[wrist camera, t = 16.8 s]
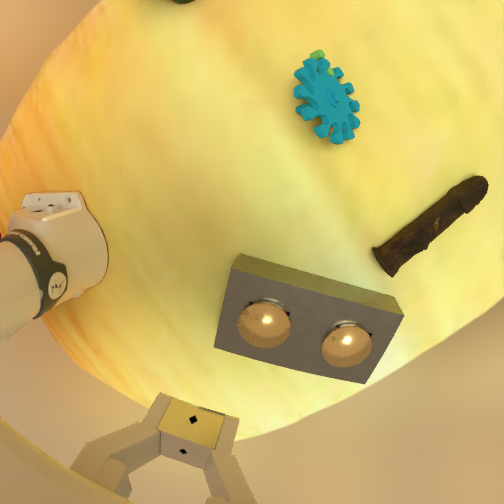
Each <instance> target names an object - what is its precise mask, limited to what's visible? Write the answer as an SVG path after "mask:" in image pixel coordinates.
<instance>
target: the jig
mask: <svg viewBox="0 0 504 504" xmlns="http://www.w3.org/2000/svg"><path fill="white" fill-rule="evenodd" d="M403 317H404V314H403V312H402V310H401V309H400V307H399V305H398V303H397V301H396V300H395V298H394V297H392V296H388V295H385V294H381V293H377V292H374V291H370V290H367V289H363V288H359V287H356V286H352V285H349V284H345V283H342V282H338V281H335V280H331V279H327V278H324V277H320V276H317V275H313V274H310V273H306V272H303V271H299V270H296V269H292V268H289V267H285V266H282V265H278V264H275V263H271V262H267V261H264V260H260V259H257V258H253V257H250V256H246V255H243V254H239V256H238V258H237V260H236V261H235V263H234V265H233V266H232V268H231V273H230V277H229V281H228V285H227V290H226V294H225V298H224V303H223V307H222V312H221V316H220V320H219V325H218V329H217V334H216V338H215V343H214V347H215V348H218V349H221V350H225V351H228V352H231V353H234V354H238V355H241V356H245V357H248V358H252V359H255V360H259V361H263V362H266V363H270V364H274V365H278V366H282V367H286V368H290V369H294V370H298V371H302V372H307V373H311V374H316V375H320V376H325V377H330V378H335V379H340V380H345V381H350V382H355V383H361V384H365V383H366V382H367V380H368V379H369V377H370V375H371V374H372V372H373V370H374V369H375V367H376V366H377V364H378V362H379V361H380V359H381V357H382V355H383V354H384V352H385V350H386V349H387V347H388V345H389V343H390V341H391V340H392V338H393V336H394V334H395V332H396V330H397V329H398V327H399V325H400V323H401V321H402V319H403ZM344 324H355V325H359V326H361V327H363V328H364V329H366V330H367V332H368V333H369V335H370V338H371V342H372V347H371V351H370V353H369V355H368V356H367V357H366V358H365V359H364V360H363V361H362V362H360V363H359V364H357V365H354V366H351V367H336V366H333V365H331V364H329V363H328V362H327V361H326V360H325V359H324V357H323V354H322V342H323V339H324V337H325V336H326V335H327V333H328V332H330V331H331V330H332V329H334V328H335V327H336V326H337V325H344Z"/></svg>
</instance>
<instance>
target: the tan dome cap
mask: <svg viewBox="0 0 504 504" xmlns="http://www.w3.org/2000/svg"><path fill="white" fill-rule="evenodd" d="M371 347H372V342H371V338H370V335H369V333H368V332H367V330H366V329H364V328H363V327H361V326H359V325H355V324H344V325H337V326H336V327H335V328H334V329H332V330H331V331H330V332H328V333H327V335H326V336H325V337H324V339H323V342H322V354H323V357H324V359H325V360H326V361H327V362H328V363H329V364H331V365H333V366H336V367H351V366H354V365H357V364H359V363H360V362H362V361H363V360H364V359H365V358H366V357H367V356H368V355H369V353H370V351H371Z"/></svg>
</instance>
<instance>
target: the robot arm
mask: <svg viewBox="0 0 504 504" xmlns="http://www.w3.org/2000/svg"><path fill="white" fill-rule="evenodd" d="M70 198H71V200H70ZM107 263H108V253H107V246H106V242H105V239H104V236H103V233H102V231H101V229H100V227H99V225H98V224H97V222H96V221H95V219H94V218H93V217H92V215H91V214H90V213H89V211H88V210H87V208H86V205H85V202H84V199H83V197H82V195H81V194H80V193H79V192H77V191H73V192H43V193H29V194H27V195H25V197H24V199H23V202H22V206H21V209H20V210H18V211H15V212H14V213H13V214H12V215H11V217H10V220H9V226H8V234H7V235H6V236H5V237H3V238H2V239H1V233H0V348H1V347H2V345H3V344H4V343H5V342H6V341H7V340H8V339H9V338H10V337H11V336H12V335H13V334H14V333H15V332H17V331H18V330H19V329H20V328H21V327H22V326H23V325H25V324H26V323H27V322H28V321H30V320H31V319H36V318H38V317H40V316H41V315H44V314H46V312H47V311H48V310H50V309H51V308H53V307H55V306H57V305H59V304H60V303H62V302H64V301H66V300H68V299H69V298H71V297H75V298H77V297H79V296H81V295H82V294H83V293H84V291H85V290H86V289H87V288H90V287H93V286H95V285H97V284H98V283H99V282H100V281H101V280H102V278H103V277H104V275H105V272H106V269H107ZM238 424H239V418H236V417H232V416H229V415H225V414H223V413H219V412H216V411H213V410H209V409H206V408H203V407H200V406H199V407H198V406H195V405H192V404H190V403H187V402H184V401H182V400H179V399H177V398H174V397H172V396H169V395H166V394H164V393H161V392H160V393H159V394H158V396H157V397H156V399H155V401H154V403H153V404H152V406H151V408H150V410H149V411H148V413H147V415H146V417H145V418H144V420H143V422H142V423H140V422H136V423H134V424H132V425H130V426H127V427H125V428H123V429H121V430H118V431H116V432H113V433H111V434H108V435H106V436H103V437H101V438H98V439H96V440H93V441H91V442H88V443H86V445H85V446H84V447H83V449H82V450H81V452H80V454H79V455H78V456H77V458H76V459H75V461H74V462H73V464H72V465H71V467H70V468H68V467H67V466H65V465H63V464H62V463H60V462H59V461H57V460H56V459H54V458H53V457H51V456H50V455H48V454H47V453H46V452H44V451H43V450H41V449H40V448H39V447H37V446H36V445H35V444H33V443H32V442H30V441H29V440H28V439H27V438H25V437H24V436H23V435H22V434H20V433H19V432H18V431H17V430H16V429H14V428H13V427H12V426H11V425H10V424H8V423H7V422H6V421H5V420H4V419H3V418H2V417H0V504H137V503H135V502H133V501H130V500H128V498H129V496H130V494H131V491H132V488H131V484H130V481H129V477H128V474H129V473H131V472H133V471H134V470H136V469H138V468H140V467H141V466H143V465H145V464H146V463H148V462H150V461H151V460H153V459H155V458H156V457H158V456H160V455H163V456H166V457H169V458H172V459H175V460H178V461H181V462H184V463H186V464H189V465H192V466H195V467H198V468H201V469H204V474H205V477H206V480H207V483H208V486H209V489H210V492H211V495H212V496H211V497H209V498H207V501H206V503H205V504H257V502H256V500H255V498H254V496H253V494H252V492H251V490H250V488H249V486H248V483H247V481H246V479H245V477H244V475H243V473H242V471H241V469H240V466H239V464H238V462H237V460H236V457H235V455H232V454H231V450H232V447H233V443H234V439H235V435H236V432H237V428H238Z"/></svg>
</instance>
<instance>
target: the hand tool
mask: <svg viewBox="0 0 504 504" xmlns="http://www.w3.org/2000/svg"><path fill="white" fill-rule="evenodd" d="M488 186H489V185H488V182H487V180H486V178H484V177H483V176H474V177H471V178H469V179H467V180H465V181H463V182H461V183H460V184H459V185H457V186H455V187H453V188H452V189H450V190H449V191H448V195H447V196H446V197H444V198H443V199H442V200H441V201H440V202H438V203H437V204H436V205H434V206H433V207H432V208H431V209H429V210H428V211H426V212H425V213H424V214H423V215H422V216H421V217H420V218H418V219H417V220H416V221H415V222H413V223H411V224H410V225H409V226H408V227H406V228H405V229H403V230H402V231H401V232H400V233H399V234H398V235H396V236H395V237H394V238H393V239H392V240H390V241H389V242H388V243H387V244H385V245H384V246H382V247H380V248H373V252H374V254H375V257H376V258H377V261H378V262H379V264H380V265H381V267H382V268H383V269H384V271H385V272H386V273H387V274H388V275H390V276H391V277H394V275H395V274H396V273H397V272H398V270H399V268H400V267H401V266H402V265H403V264H404V263H406V262H407V261H408V260H409V259H411V258H412V257H413V256H414V255H416V254H417V253H419V252H421V251H423V250H426V249H427V248H428V245H429V243H430V242H432V241H433V240H434V239H435V238H436V237H437V236H438V235H440V234H441V233H442V232H443V231H444V230H445V229H447V228H448V227H449V226H450V225H451V224H452V223H453V222H454V221H455V220H456V219H457V218H459V217H460V216H461V215H463V214H464V213H466V214H468V213H469V212H470V211H471V210H473V208H474V207H475V206H476V205H478V204H479V203H480V201H481V200H482V199H483V198H484V196H485V195H486V193H487V190H488Z"/></svg>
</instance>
